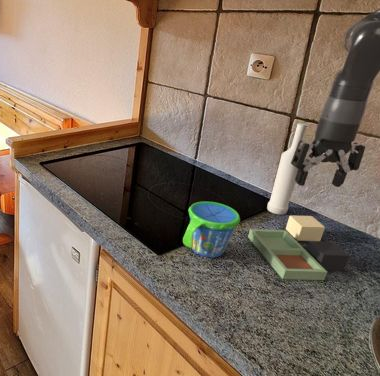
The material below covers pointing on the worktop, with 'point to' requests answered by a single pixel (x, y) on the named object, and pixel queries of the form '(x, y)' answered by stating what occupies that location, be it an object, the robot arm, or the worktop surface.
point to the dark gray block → (328, 254)
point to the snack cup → (210, 228)
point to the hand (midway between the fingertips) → (317, 185)
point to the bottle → (285, 176)
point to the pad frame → (286, 255)
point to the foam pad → (305, 228)
